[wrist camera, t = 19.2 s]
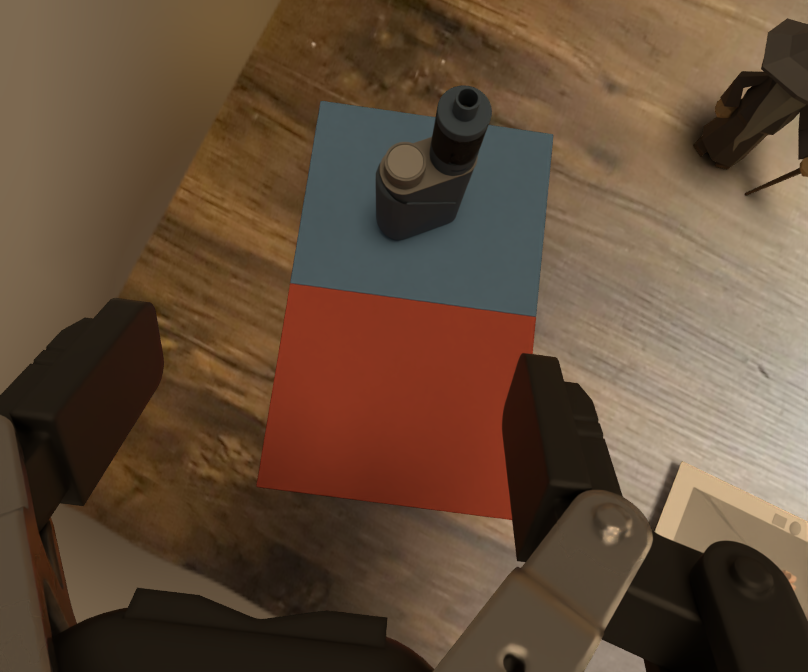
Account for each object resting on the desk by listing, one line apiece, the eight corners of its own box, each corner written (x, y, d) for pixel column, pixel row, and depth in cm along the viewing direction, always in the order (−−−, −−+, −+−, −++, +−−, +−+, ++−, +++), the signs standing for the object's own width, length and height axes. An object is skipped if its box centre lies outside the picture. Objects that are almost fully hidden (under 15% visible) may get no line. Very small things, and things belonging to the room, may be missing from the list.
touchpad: (863, 703, 32) (898, 723, 30) (623, 585, 32) (640, 596, 30) (904, 571, 33) (940, 582, 31) (672, 459, 34) (692, 462, 32)
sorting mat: (257, 485, 32) (255, 487, 32) (321, 104, 36) (320, 100, 36) (514, 519, 33) (516, 520, 32) (551, 137, 36) (553, 134, 36)
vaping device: (464, 220, 35) (508, 116, 23) (384, 248, 34) (387, 156, 22) (449, 183, 35) (484, 61, 23) (370, 210, 35) (365, 100, 23)
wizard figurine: (657, 151, 37) (791, 22, 25) (702, 89, 37) (852, -65, 26) (763, 226, 36) (951, 131, 24) (807, 162, 37) (1008, 39, 25)
